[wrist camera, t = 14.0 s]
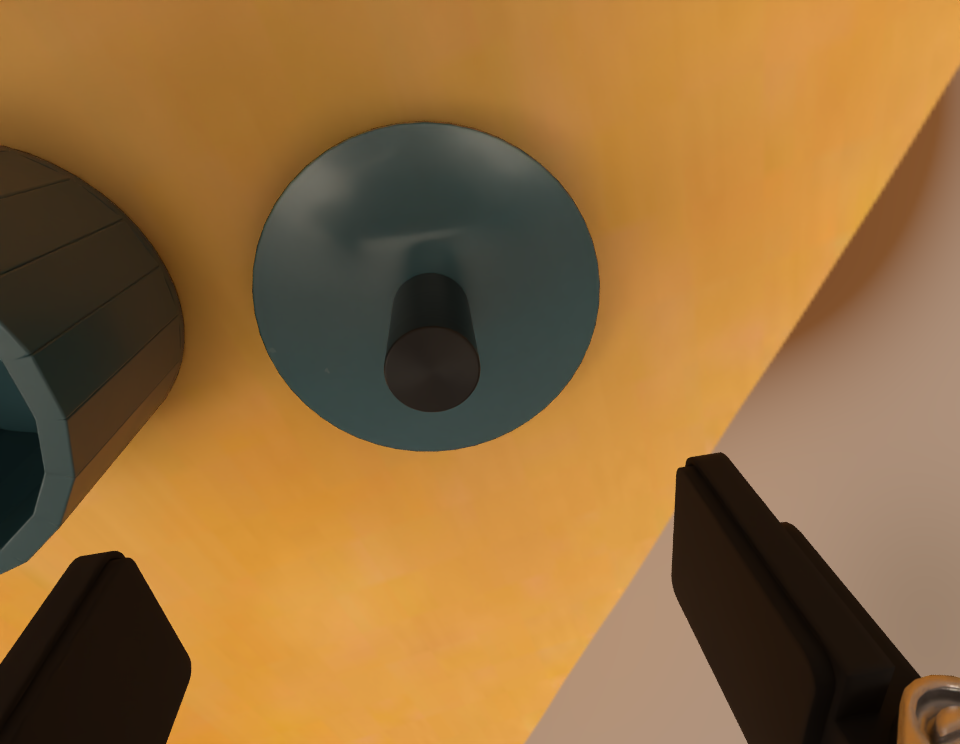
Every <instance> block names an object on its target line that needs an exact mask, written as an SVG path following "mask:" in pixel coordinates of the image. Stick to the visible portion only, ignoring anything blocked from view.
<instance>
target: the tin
mask: <svg viewBox="0 0 960 744" xmlns="http://www.w3.org/2000/svg"><path fill="white" fill-rule="evenodd" d="M183 349H184V323H183V317H182V311H181V306H180V302H179V299H178V296H177V293H176V290H175V287H174V284H173V282H172V280H171V278H170V276H169V274H168V271H167V269H166V267H165V265H164V264H163V262H162V261H161V259H160V257H159V256H158V254H157V252H156V251H155V249H154V248H153V246H152V245H151V244H150V242H149V241H148V240H147V239H146V237H145V236H144V235H143V233H142V232H141V231H140V230H139V228H138V227H137V226H136V225H135V224H134V223H133V222H132V221H131V220H130V219H129V218H128V217H127V216H126V215H125V214H124V213H123V212H122V211H121V210H120V209H119V208H118V207H117V206H116V205H114V204H113V203H112V202H111V201H110V200H108V199H107V198H106V197H105V196H104V195H102V194H101V193H100V192H98V191H97V190H96V189H94V188H93V187H91V186H90V185H88V184H87V183H85V182H84V181H82V180H81V179H79V178H78V177H76V176H74V175H72V174H71V173H69V172H67V171H65V170H63V169H61V168H60V167H58V166H56V165H54V164H52V163H49V162H47V161H45V160H42V159H40V158H37V157H35V156H33V155H30V154H27V153H24V152H21V151H18V150H14V149H11V148H8V147H4V146H0V574H2V573H4V572H6V571H9V570H11V569H13V568H15V567H17V566H19V565H21V564H23V563H25V562H27V561H28V560H29V559H30V558H31V557H32V556H33V555H34V554H35V553H36V552H37V551H38V550H39V549H40V548H41V547H42V546H43V545H44V543H45V542H46V541H47V540H48V539H49V538H50V537H51V536H52V535H53V534H54V533H55V532H56V531H57V530H58V529H59V528H60V526H61V525H62V524H63V523H64V522H65V520H66V519H67V518H68V517H69V515H70V514H71V513H72V512H73V511H74V509H75V508H76V507H77V506H78V505H79V503H80V502H81V501H82V500H83V498H84V497H85V496H86V495H87V494H88V492H89V491H90V490H91V489H92V487H93V486H94V485H95V484H96V483H97V481H98V480H99V479H100V478H101V477H102V475H103V474H104V473H105V472H106V470H107V469H108V468H109V467H110V466H111V464H112V463H113V462H114V461H115V459H116V458H117V457H118V456H119V455H120V453H121V452H122V451H123V450H124V449H125V447H126V446H127V445H128V444H129V442H130V441H131V440H132V439H133V438H134V436H135V435H136V434H137V433H138V431H139V430H140V429H141V428H142V427H143V425H144V424H145V423H146V422H147V421H148V419H149V418H150V417H151V416H152V414H153V413H154V412H155V411H156V410H157V408H158V407H159V406H160V405H161V403H162V402H163V401H164V400H165V399H166V397H167V395H168V392H169V391H170V389H171V387H172V385H173V383H174V381H175V379H176V377H177V375H178V371H179V368H180V365H181V362H182V356H183Z"/></svg>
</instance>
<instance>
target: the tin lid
mask: <svg viewBox="0 0 960 744" xmlns="http://www.w3.org/2000/svg"><path fill="white" fill-rule="evenodd" d="M599 292H600V280H599V270H598V261H597V257H596V253H595V249H594V245H593V241H592V238H591V236H590V233H589V231H588V228H587V226H586V223H585V221H584V219H583V217H582V215H581V213H580V211H579V210H578V208H577V206H576V204H575V203H574V201H573V199H572V198H571V197H570V195H569V194H568V193H567V192H566V190H565V189H564V188H563V186H562V185H561V184H560V182H559V181H558V180H557V179H556V178H555V177H554V176H553V175H552V174H551V173H550V172H549V171H548V170H547V169H546V168H544V167H543V166H542V165H541V164H540V163H539V162H537V161H536V160H535V159H533V158H532V157H531V156H529V155H528V154H526V153H525V152H524V151H522V150H521V149H520V148H518V147H516V146H514V145H512V144H510V143H508V142H507V141H505V140H503V139H501V138H499V137H497V136H494V135H492V134H489V133H486V132H483V131H481V130H478V129H475V128H471V127H467V126H462V125H457V124H453V123H445V122H431V121H418V122H404V123H396V124H391V125H387V126H382V127H377V128H373V129H371V130H368V131H365V132H363V133H360V134H357V135H355V136H352V137H350V138H348V139H346V140H344V141H342V142H341V143H339V144H337V145H335V146H333V147H332V148H330V149H328V150H327V151H325V152H324V153H323V154H321V155H320V156H319V157H317V158H316V159H315V160H313V161H312V162H311V163H310V164H308V165H307V166H306V167H305V168H304V169H303V170H302V171H301V172H300V173H299V174H298V175H297V176H296V177H295V178H294V179H293V180H292V181H291V182H290V183H289V185H288V186H287V187H286V189H285V190H284V192H283V193H282V194H281V196H280V197H279V199H278V200H277V201H276V203H275V205H274V206H273V208H272V210H271V212H270V214H269V216H268V218H267V220H266V222H265V224H264V227H263V230H262V233H261V236H260V239H259V242H258V245H257V249H256V255H255V260H254V266H253V285H252V293H253V302H254V311H255V316H256V320H257V324H258V328H259V332H260V335H261V338H262V340H263V343H264V345H265V347H266V350H267V352H268V355H269V357H270V358H271V360H272V362H273V364H274V365H275V367H276V369H277V371H278V372H279V374H280V375H281V377H282V378H283V379H284V381H285V382H286V383H287V384H288V386H289V387H290V388H291V390H292V391H293V392H294V393H295V394H296V395H297V396H298V397H299V398H300V399H301V400H302V401H303V402H304V403H305V404H306V405H307V406H308V407H309V408H310V409H312V410H313V411H314V412H315V413H317V414H318V415H319V416H320V417H322V418H323V419H325V420H326V421H328V422H329V423H331V424H333V425H334V426H336V427H337V428H339V429H341V430H343V431H345V432H347V433H349V434H351V435H353V436H355V437H357V438H360V439H363V440H366V441H369V442H371V443H374V444H377V445H381V446H386V447H390V448H395V449H401V450H410V451H446V450H456V449H461V448H465V447H470V446H475V445H478V444H481V443H484V442H487V441H490V440H493V439H495V438H498V437H500V436H502V435H504V434H506V433H509V432H511V431H513V430H514V429H516V428H518V427H519V426H521V425H523V424H524V423H526V422H528V421H529V420H530V419H532V418H533V417H534V416H536V415H537V414H538V413H539V412H541V411H542V410H543V409H545V408H546V407H547V406H548V405H549V404H550V403H551V402H552V401H553V400H554V399H555V398H556V397H557V396H558V395H559V393H560V392H561V391H562V390H563V389H564V387H565V386H566V385H567V384H568V382H569V381H570V380H571V378H572V377H573V375H574V373H575V372H576V370H577V369H578V367H579V365H580V364H581V362H582V360H583V357H584V355H585V353H586V351H587V349H588V346H589V344H590V341H591V338H592V335H593V331H594V328H595V325H596V319H597V313H598V308H599Z"/></svg>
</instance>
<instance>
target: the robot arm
mask: <svg viewBox="0 0 960 744" xmlns="http://www.w3.org/2000/svg"><path fill="white" fill-rule="evenodd" d="M672 555H673V556H672V575H671V576H672V584H673V588H674V592H675V595H676V597H677V600H678V602H679V604H680V606H681V608H682V610H683V612H684V614H685V616H686V618H687V620H688V622H689V624H690V626H691V628H692V630H693V632H694V634H695V636H696V638H697V640H698V643H699V644H700V646H701V649H702V651H703V653H704V655H705V657H706V659H707V661H708V663H709V665H710V667H711V669H712V671H713V673H714V675H715V677H716V679H717V681H718V683H719V685H720V687H721V689H722V691H723V693H724V695H725V698H726V700H727V702H728V703H729V706H730V708H731V710H732V712H733V714H734V716H735V718H736V720H737V722H738V724H739V726H740V728H741V730H742V732H743V734H744V736H745V738H746V740H747V742H748V744H960V678H958V677H954V676H946V675H929V676H926V677H922V678H921V677H920V676H919V674H918V673H917V672H916V671H915V669H914V668H913V667H912V666H911V665H910V664H909V662H908V661H907V660H906V659H905V658H904V656H903V655H902V654H901V653H900V651H899V650H898V649H897V648H896V647H895V645H894V644H893V643H892V642H891V641H890V639H889V638H888V637H887V636H886V634H885V633H884V632H883V631H882V630H881V628H880V627H879V626H878V625H877V624H876V622H875V621H874V620H873V619H872V618H871V616H870V615H869V614H868V613H867V612H866V610H865V609H864V608H863V607H862V605H861V604H860V603H859V602H858V601H857V599H856V598H855V597H854V596H853V595H852V593H851V592H850V591H849V590H848V589H847V587H846V586H845V585H844V584H843V583H842V581H841V580H840V579H839V578H838V577H837V575H836V574H835V573H834V572H833V571H832V569H831V568H830V567H829V566H828V564H827V563H826V562H825V561H824V560H823V559H822V557H821V556H820V555H819V554H818V552H817V551H816V550H815V549H814V548H813V546H812V545H811V544H810V543H809V542H808V540H807V539H806V538H805V537H804V535H803V534H802V533H801V532H800V531H799V530H798V529H797V528H796V527H795V526H793V525H792V524H789V523H788V522H781V523H780V522H779V521H778V519H777V518H776V517H775V516H774V514H773V513H772V512H771V511H770V510H769V508H768V507H767V506H766V504H765V503H764V502H763V501H762V499H761V498H760V497H759V496H758V494H757V493H756V492H755V491H754V490H753V488H752V487H751V486H750V484H749V483H748V482H747V481H746V479H745V478H744V477H743V476H742V474H741V473H740V472H739V471H738V469H737V468H736V467H735V466H734V464H733V463H732V462H731V461H730V459H729V458H728V457H727V456H726V455H725V454H723V453H721V452H720V453H714V454H708V455H701V456H695V457H690V458H688V459H687V461H686V465H685V467H681V468H678V470H677V474H676V492H675V513H674V533H673V554H672ZM190 676H191V661H190V658H189V656H188V654H187V652H186V650H185V649H184V647H183V645H182V643H181V642H180V640H179V638H178V636H177V635H176V633H175V631H174V629H173V628H172V626H171V624H170V622H169V621H168V619H167V617H166V615H165V614H164V612H163V610H162V608H161V607H160V605H159V603H158V601H157V600H156V598H155V596H154V594H153V593H152V591H151V589H150V587H149V586H148V584H147V582H146V581H145V579H144V577H143V575H142V574H141V572H140V570H139V568H138V567H137V565H136V563H135V562H134V561H133V559H131V558H125V556H124V555H123V554H122V553H120V552H118V551H110V552H104V553H98V554H92V555H86V556H80V557H78V558H76V559H75V560H74V561H73V562H72V563H71V564H70V565H69V567H68V568H67V570H66V571H65V573H64V574H63V575H62V577H61V578H60V580H59V581H58V583H57V584H56V585H55V587H54V588H53V590H52V591H51V593H50V594H49V595H48V597H47V598H46V600H45V601H44V603H43V604H42V605H41V607H40V608H39V610H38V611H37V613H36V614H35V615H34V617H33V618H32V620H31V621H30V623H29V624H28V625H27V627H26V628H25V630H24V631H23V633H22V634H21V635H20V637H19V638H18V640H17V641H16V643H15V644H14V645H13V647H12V648H11V650H10V651H9V653H8V654H7V655H6V657H5V658H4V660H3V661H2V663H1V664H0V744H166V742H167V740H168V737H169V734H170V732H171V729H172V726H173V723H174V721H175V718H176V715H177V713H178V710H179V707H180V705H181V702H182V699H183V697H184V694H185V691H186V689H187V686H188V683H189V680H190Z"/></svg>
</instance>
